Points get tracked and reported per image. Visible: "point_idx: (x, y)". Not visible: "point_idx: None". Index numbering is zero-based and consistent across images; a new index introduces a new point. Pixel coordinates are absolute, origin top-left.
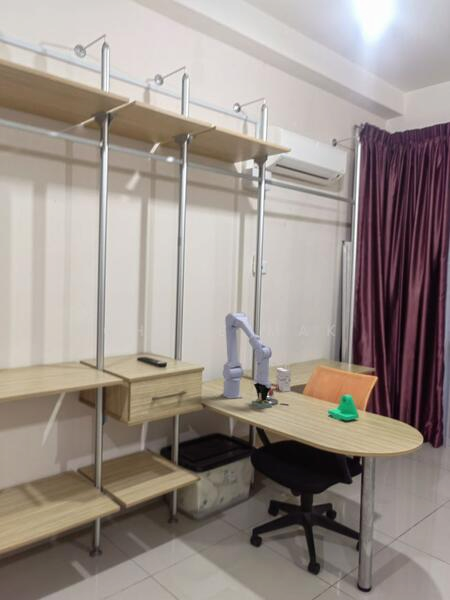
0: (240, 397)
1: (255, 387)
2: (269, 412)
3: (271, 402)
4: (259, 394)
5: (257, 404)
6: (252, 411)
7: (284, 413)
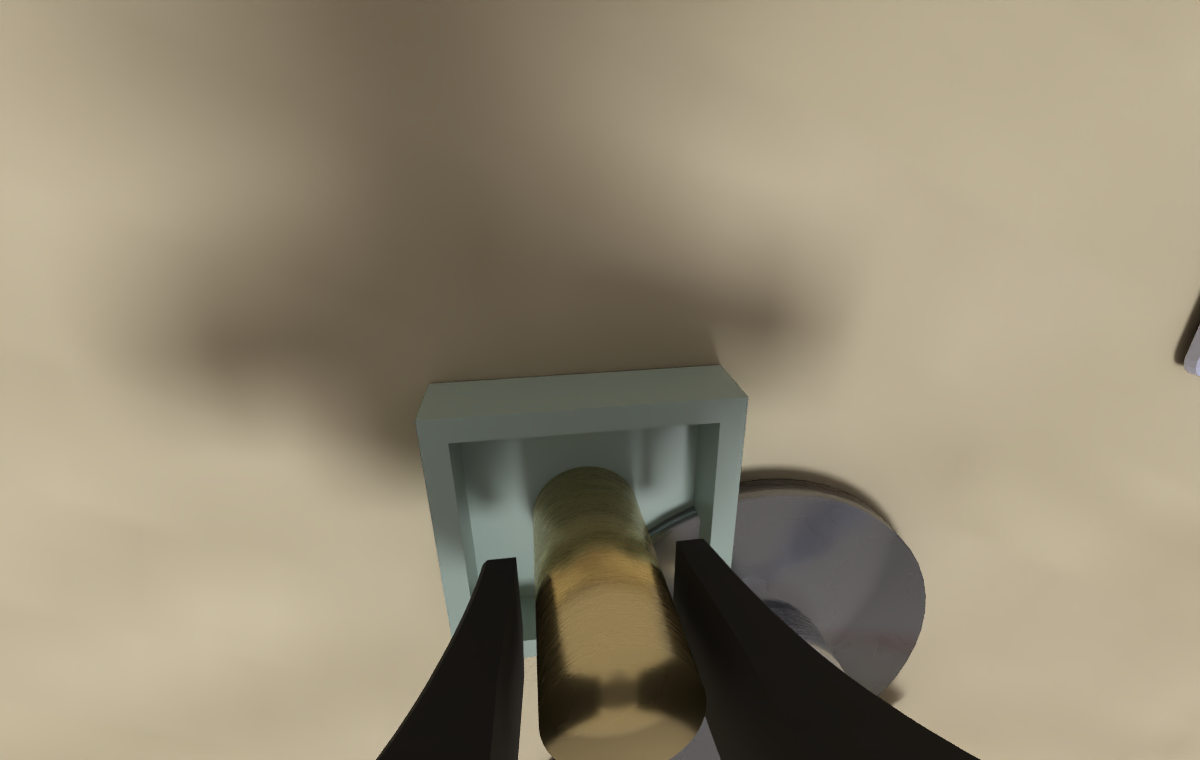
0: (1196, 333)
1: (900, 739)
2: (123, 480)
3: None
4: (601, 627)
5: (472, 411)
6: (213, 169)
7: (58, 673)
